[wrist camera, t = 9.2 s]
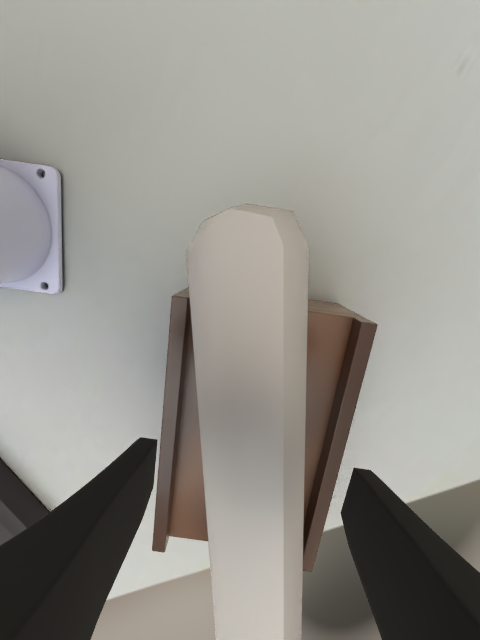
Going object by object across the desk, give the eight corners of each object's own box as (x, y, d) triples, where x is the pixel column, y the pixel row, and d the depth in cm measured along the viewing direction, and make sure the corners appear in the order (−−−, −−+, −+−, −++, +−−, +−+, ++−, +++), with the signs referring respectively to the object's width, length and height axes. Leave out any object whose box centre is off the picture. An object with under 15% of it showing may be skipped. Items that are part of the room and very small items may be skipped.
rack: (176, 476, 22) (151, 551, 17) (194, 283, 19) (171, 295, 13) (295, 492, 22) (312, 572, 17) (338, 303, 19) (378, 324, 13)
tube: (146, 198, 9) (198, 693, 15) (308, 175, 7) (298, 752, 13) (214, 218, 14) (234, 583, 19) (321, 207, 12) (309, 614, 18)
